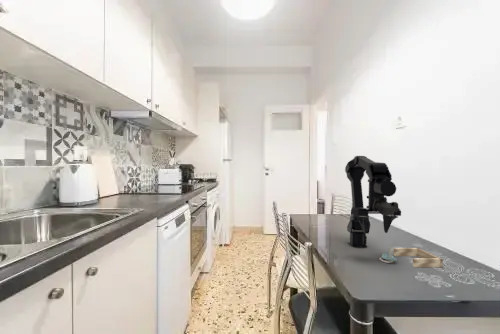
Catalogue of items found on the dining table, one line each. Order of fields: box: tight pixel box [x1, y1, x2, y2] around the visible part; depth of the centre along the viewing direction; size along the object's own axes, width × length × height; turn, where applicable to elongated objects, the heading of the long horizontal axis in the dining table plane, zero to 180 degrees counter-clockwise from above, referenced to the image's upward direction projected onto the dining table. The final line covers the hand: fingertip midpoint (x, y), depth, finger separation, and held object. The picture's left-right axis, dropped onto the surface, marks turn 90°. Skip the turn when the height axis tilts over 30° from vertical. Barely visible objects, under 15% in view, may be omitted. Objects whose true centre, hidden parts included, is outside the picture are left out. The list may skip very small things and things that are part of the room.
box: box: [392, 247, 444, 268], centre depth 112 cm, size 11×14×3 cm
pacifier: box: [378, 245, 398, 264], centre depth 111 cm, size 7×6×6 cm
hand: (375, 232), depth 112 cm, fingers open, 9 cm apart
